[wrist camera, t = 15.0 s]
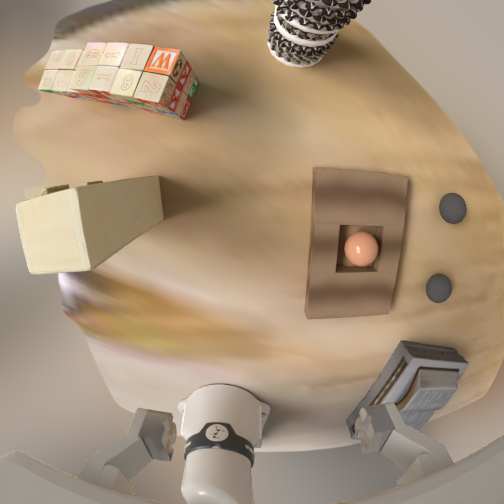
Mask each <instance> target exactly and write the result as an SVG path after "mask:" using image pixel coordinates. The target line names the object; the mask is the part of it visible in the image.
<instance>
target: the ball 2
mask: <svg viewBox="0 0 504 504" xmlns="http://www.w3.org/2000/svg"><path fill="white" fill-rule="evenodd" d="M439 210H440V214H441V216H442V218H443V219H444V220H445V221H446V222H448V223H451V224H456V223H459V222H461V221H462V220H463V219H464V217H465V215H466V204H465V201H464V200H463V198H462V197H461V196H460V195H458V194H455V193H449V194H446V195H445V196H444V197H443V198H442V199H441V201H440V205H439Z"/></svg>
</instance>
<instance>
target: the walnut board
mask: <svg viewBox="0 0 504 504" xmlns="http://www.w3.org/2000/svg"><path fill="white" fill-rule="evenodd" d="M407 185H408V176H400V175H392V174H384V173H374V172H365V171H354V170H341V169H327V168H313V187H312V214H311V233H310V250H309V265H308V278H307V290H306V301H305V314H306V317H307V319H324V318H342V317H358V316H371V315H383V314H389V310H390V305H391V301H392V296H393V291H394V286H395V281H396V276H397V270H398V264H399V258H400V252H401V245H402V238H403V230H404V221H405V211H406V200H407ZM340 225H366V226H377V229H376V238H375V239H376V241H377V244H378V254H377V257H376V259H375V260H374V261H373V262H372V266H363V267H361V266H356V267H336V261H337V251H338V240H339V228H340Z"/></svg>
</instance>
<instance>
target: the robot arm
mask: <svg viewBox="0 0 504 504" xmlns="http://www.w3.org/2000/svg"><path fill="white" fill-rule="evenodd" d="M178 409H179V411H180V413H181V414H182V416H183V419H182V426H181V434H182V435H183V437H184V439H185V440H186V441H187V442H186V446H185V450H184V458H185V460H186V463H185V469H184V474H183V480H182V486H181V491H182V494H183V497H184V498H185V500H186V501H187V502H188V504H255V502H254V497H253V490H252V476H251V468H252V466H253V464H254V448H255V447H256V448H260V447H261V445H262V435H261V432H262V430H263V427H264V425H265V423H266V420H267V418H268V415H269V413H270V406H269V405H268V404H266V403H263V402H261V401H259V400H257V399H256V398H255V397H254V396H253V395H252V394H250V393H249V392H247V391H246V390H243V389H241V388H238V387H235V386H230V385H222V384H217V385H208V386H204V387H201V388H199V389H197V390H196V391H194V392H193V393H192V394H191V395H190V396H189V397H188V398H187V399H184V400H182V401H180V402H179V403H178ZM359 414H360V417H358V418H357V419H356V422H355V433H356V436H357V438H359V439H360V440H361V442H360V444H359V445H360V448H361V451H362V454H363V455H366V454H371V453H376V452H380V453H381V454H382V455H383V456H384V457H386V458H387V459H388V460H389V461H391V462H392V463H393V464H394V465H396V466H397V467H398V468H399V469H400V470H402V471H403V472H404V474H403V475H402V476H401V477H400V479H399V480H398V482H397V483H398V487H394V488H391V489H388V490H385V491H381V492H378V493H374V494H370V495H366V496H362V497H358V498H354V499H349V500H345V501H340V502H334V503H329V504H504V435H503V436H501V437H499V438H498V439H496V440H495V441H493V442H492V443H490V444H488V445H487V446H485V447H483V448H482V449H480V450H478V451H477V452H475V453H473V454H471V455H469V456H468V457H466V458H464V459H462V460H460V461H458V462H456V463H453V461H452V459H451V457H450V455H449V453H448V452H447V450H446V448H445V446H444V445H443V444H441V443H439V442H437V441H436V440H434V439H432V438H430V437H428V436H426V435H425V434H423V433H421V432H420V431H418V430H416V429H414V428H413V427H411V426H409V425H408V426H406V425H405V423H404V421H403V419H402V417H401V415H400V413H399V411H398V409H397V407H396V406H395V404H394V403H393V402H388V403H384V404H378V405H373V406H368V407H363V408H361V410H360V412H359ZM172 421H173V416H172V413H167V412H161V411H154V410H149V409H143V408H138V409H137V410H136V411H135V414H134V416H133V419H132V422H131V424H130V427H129V429H128V432H127V434H123V435H121V436H120V437H118V438H117V439H115V440H114V441H112V442H110V443H109V444H107V445H106V446H104V447H103V448H101V449H100V450H98V451H97V452H95V453H93V454H92V455H90V456H89V457H87V459H86V461H85V464H84V466H83V468H82V471H81V473H80V476H79V478H77V477H75V476H72V475H70V474H67V473H65V472H63V471H61V470H58V469H56V468H54V467H52V466H50V465H48V464H46V463H44V462H41V461H40V460H38V459H36V458H34V457H32V456H30V455H28V454H27V453H25V452H23V451H20V450H14V451H11V452H9V453H6V454H4V455H1V456H0V504H170V503H165V502H159V501H154V500H150V499H145V498H141V497H137V496H136V490H135V489H134V488H133V487H132V485H131V484H130V483H129V481H130V480H131V479H132V478H133V477H134V476H136V475H137V474H138V473H139V472H140V471H141V470H142V469H143V468H144V467H145V466H146V465H148V464H149V463H150V462H151V461H152V459H157V460H164V461H171V458H172V454H173V448H172V444H174V443H175V441H176V434H177V430H176V425H175V423H174V422H172Z"/></svg>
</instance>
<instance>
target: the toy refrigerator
mask: <svg viewBox="0 0 504 504" xmlns="http://www.w3.org/2000/svg"><path fill="white" fill-rule="evenodd" d="M16 213H17V220H18V225H19V230H20V235H21V240H22V245H23V249H24V253H25V257H26V261H27V266H28V269H29V271H30V273H31V274H50V273H63V272H77V271H88V270H92V269H95V268H96V267H97V266H99V265H100V264H102V263H103V262H104V261H106V260H107V259H108V258H110V257H111V256H112V255H114V254H115V253H116V252H118V251H119V250H121V249H122V248H123V247H125V246H126V245H128V244H129V243H130V242H132V241H133V240H135V239H136V238H138V237H139V236H141V235H142V234H144V233H145V232H147V231H148V230H149V229H151V228H152V227H154V226H156V225H157V224H159V223H160V222H162V221H163V220H164V215H163V208H162V199H161V191H160V182H159V176H148V177H140V178H132V179H124V180H117V181H111V182H104V183H103V181H95V182H87V183H83V184H82V186H80V187H75V188H70V189H69V185H68V184H67V185H61V186H55V187H50V188H45V189H41V196H40V197H37V198H33V199H30V200H27V201H24V202H20V203H18V204H17V205H16Z"/></svg>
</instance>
